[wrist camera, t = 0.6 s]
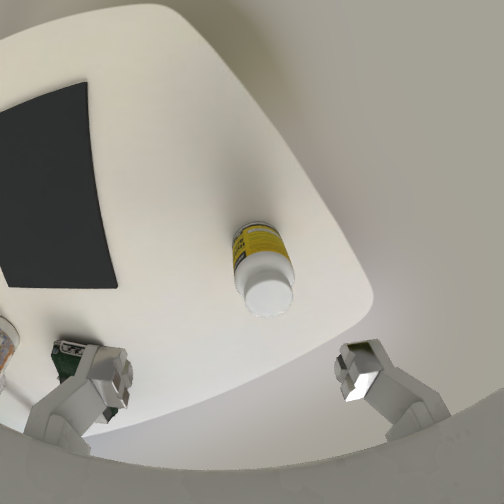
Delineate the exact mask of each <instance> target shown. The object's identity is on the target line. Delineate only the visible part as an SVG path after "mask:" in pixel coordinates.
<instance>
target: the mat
mask: <svg viewBox="0 0 504 504" xmlns="http://www.w3.org/2000/svg"><path fill="white" fill-rule="evenodd" d="M0 267H1V269H2V272H3V274H4V277H5V279H6V282H7V284H8V286H9V287H19V288H71V289H116V288H117V287H118V284H117V281H116V277H115V273H114V270H113V266H112V262H111V258H110V254H109V250H108V246H107V242H106V237H105V233H104V228H103V223H102V218H101V213H100V208H99V202H98V197H97V191H96V184H95V177H94V170H93V162H92V154H91V144H90V133H89V119H88V96H87V82H82V83H79V84H75V85H72V86H69V87H65V88H62V89H59V90H56V91H53V92H50V93H47V94H45V95H42V96H39V97H37V98H34V99H31V100H29V101H26V102H24V103H21V104H19V105H17V106H14V107H12V108H10V109H8V110H6V111H3V112H1V113H0Z"/></svg>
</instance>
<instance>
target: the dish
mask: <svg viewBox="0 0 504 504" xmlns="http://www.w3.org/2000/svg"><path fill="white" fill-rule="evenodd" d="M5 385H6V378H5V376H4V374H3V375H2V377H1V379H0V394H1V392H2V391H3V389H4V387H5Z"/></svg>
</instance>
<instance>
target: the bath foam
mask: <svg viewBox="0 0 504 504" xmlns="http://www.w3.org/2000/svg"><path fill="white" fill-rule="evenodd" d="M19 342H20V339H19V335H18V333H17V331H16V330H15V328H14V327H13V326H12V325H11V324H10V323H9V322H8V321H7V320H5V319H4V318H2V317H0V379H1V377H2V375H3V373H4V371H5V369H6V367H7V365H8V363H9V361H10V359H11V358H12V356H13V354H14V352H15V350H16V348H17V346H18V344H19Z"/></svg>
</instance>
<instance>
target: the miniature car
mask: <svg viewBox="0 0 504 504" xmlns="http://www.w3.org/2000/svg"><path fill="white" fill-rule="evenodd" d="M66 343H67V344H66ZM70 344H72V345H70ZM75 345H77V346H75ZM80 346H81V347H80ZM85 348H86V345H81V344H77V343H73V342H66V341H65V340H62V341H60V340H57V341H54V346H53V350H52V353H51V357H52V360H53V362H54V364H55V366H56V369H57V372H58V374H59V376H58V377H57V379H58V380H59V379H60V384H62V383H63V382H64V381H65V380H67V379H68V378H69V377H70V376H75V373H76V370H77V368H78V365H79V363H80V360H81V358H82V355H83V353H84V350H85ZM106 407H107V408H106V409H105V410H104V411H103V412H102V414H101V415H100V416H99V417H98V418H97V419H96V420H95V421H94V422H95V423H103V424H107V423H108V422H109V421H110V420H111V418H112V417H113V416H115V414H116V413H118V409H120V408H116V407H108V406H106Z"/></svg>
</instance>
